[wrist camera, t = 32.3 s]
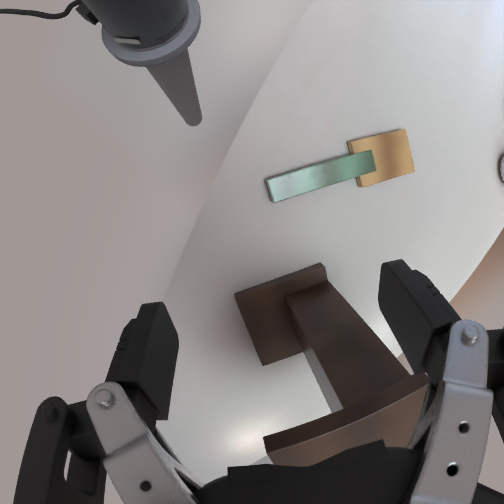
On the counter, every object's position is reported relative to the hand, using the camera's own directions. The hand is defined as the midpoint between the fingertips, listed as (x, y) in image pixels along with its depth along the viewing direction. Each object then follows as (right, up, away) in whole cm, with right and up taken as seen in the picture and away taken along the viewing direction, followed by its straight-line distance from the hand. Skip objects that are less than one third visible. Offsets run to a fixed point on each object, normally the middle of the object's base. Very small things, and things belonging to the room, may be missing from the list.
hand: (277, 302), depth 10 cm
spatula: (+11, +12, +24) cm, 29 cm away
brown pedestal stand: (+4, -7, +30) cm, 31 cm away
